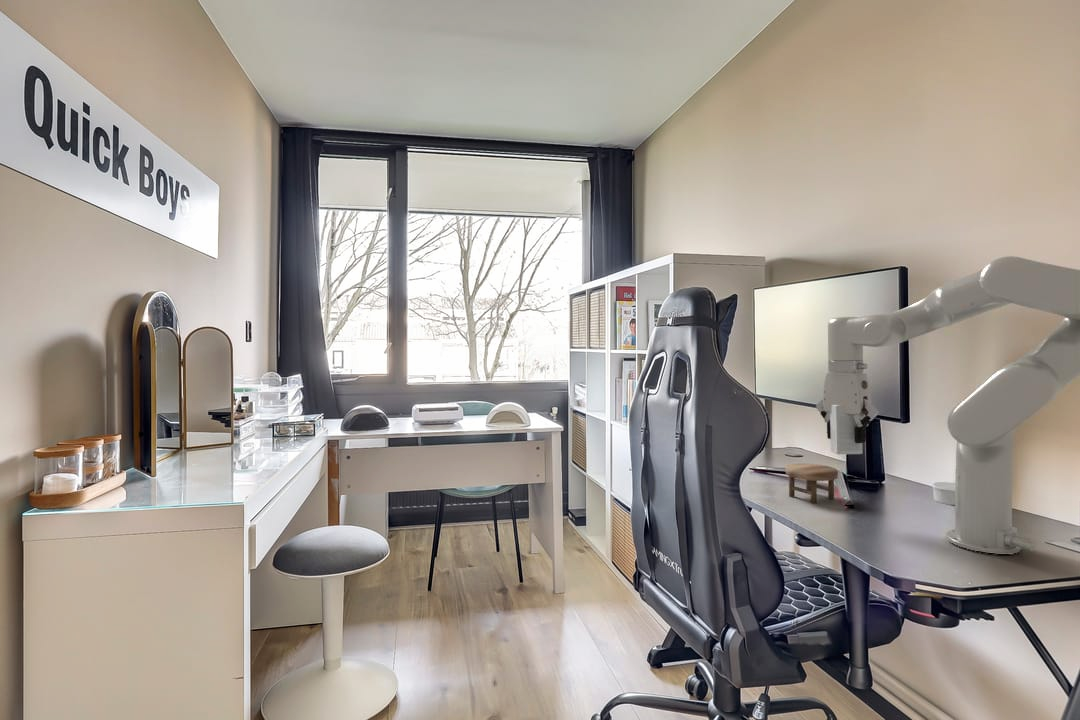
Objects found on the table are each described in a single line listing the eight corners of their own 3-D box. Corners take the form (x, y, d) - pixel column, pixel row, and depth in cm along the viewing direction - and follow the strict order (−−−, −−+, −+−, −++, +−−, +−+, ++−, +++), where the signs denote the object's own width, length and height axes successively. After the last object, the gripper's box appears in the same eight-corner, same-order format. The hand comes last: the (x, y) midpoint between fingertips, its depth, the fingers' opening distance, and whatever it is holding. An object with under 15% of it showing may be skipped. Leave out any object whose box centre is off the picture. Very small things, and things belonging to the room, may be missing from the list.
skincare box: (855, 450, 142) (854, 403, 142) (863, 454, 138) (862, 405, 138) (829, 451, 143) (829, 403, 142) (836, 454, 139) (836, 405, 138)
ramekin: (940, 506, 149) (940, 489, 148) (926, 496, 157) (926, 480, 157) (979, 507, 146) (980, 491, 146) (963, 497, 155) (963, 482, 155)
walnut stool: (848, 499, 155) (848, 470, 155) (816, 507, 149) (816, 477, 149) (807, 488, 167) (806, 461, 166) (775, 495, 161) (775, 467, 161)
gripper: (890, 368, 134) (890, 444, 134) (824, 365, 149) (824, 434, 150) (869, 369, 130) (870, 447, 131) (804, 367, 146) (805, 437, 146)
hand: (846, 439), depth 140 cm, fingers closed on skincare box, 6 cm apart
